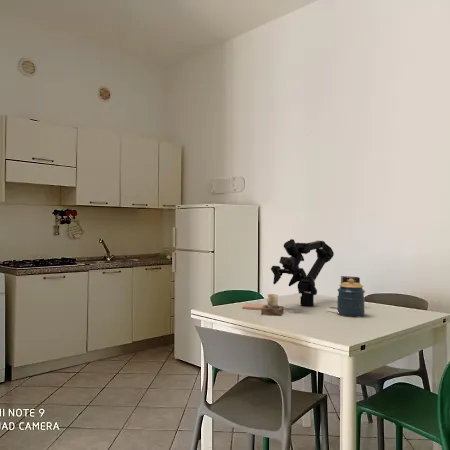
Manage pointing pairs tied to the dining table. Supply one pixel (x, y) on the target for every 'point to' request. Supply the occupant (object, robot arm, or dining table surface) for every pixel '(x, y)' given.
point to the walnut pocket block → (272, 311)
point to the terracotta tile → (253, 306)
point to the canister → (351, 299)
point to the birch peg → (272, 301)
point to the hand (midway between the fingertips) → (281, 284)
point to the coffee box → (346, 278)
